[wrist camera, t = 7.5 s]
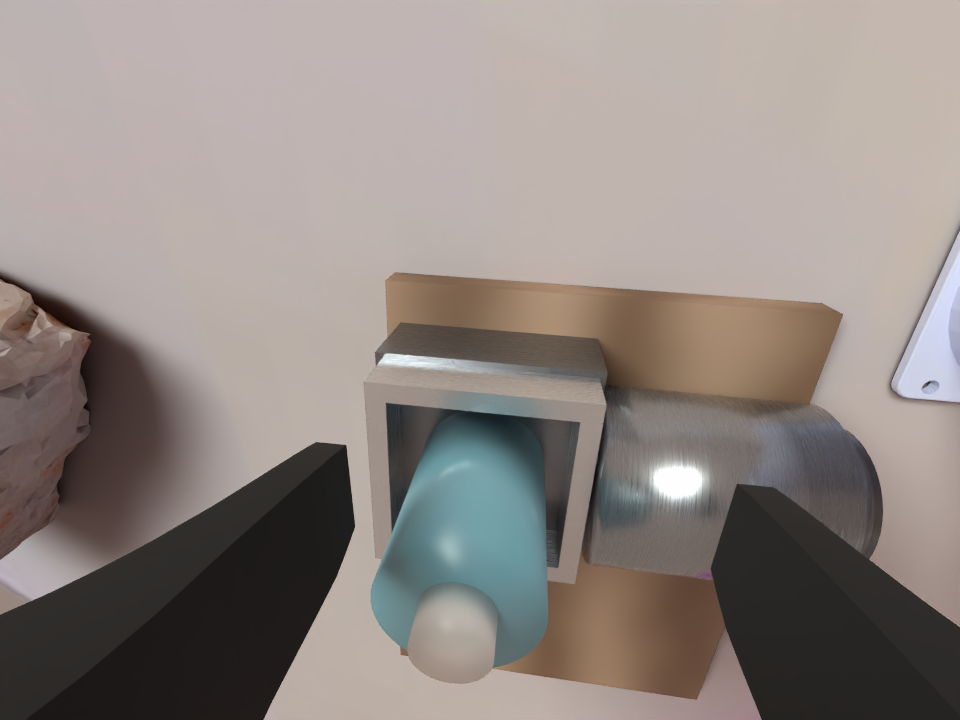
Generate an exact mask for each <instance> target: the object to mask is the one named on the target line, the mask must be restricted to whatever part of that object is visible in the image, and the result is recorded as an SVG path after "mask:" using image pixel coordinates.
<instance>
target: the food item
mask: <svg viewBox="0 0 960 720" xmlns="http://www.w3.org/2000/svg"><path fill="white" fill-rule="evenodd" d="M89 335H90V334H89V333H85V332H81V331H77V330H74V329H72V328H70V327H68V326H67V325H65V324H63V323H61V322H60V321H59V320H58V319H57V318H55V317H54V316H52V315H51V314H50V313H48V312H44V310H43V309H42V308H40V307H38V306H37V305H36V304H34V302H33V299H32V297H31V294H29V293H27V292H26V291H24V290H22V289H20V288H19V287H17V286H15V285H12V284H8V283H5V282H4V281H2V280H1V279H0V560H1V559H2V558H3V557H5V556H6V555H7V554H9V553H10V552H11V551H13V550H14V549H15V548H17V547H18V546H19V545H20V543H21V542H22V541H24V540H25V539H27V538H28V537H30V536H31V535H32V534H34V533H36V532H37V531H39V530H41V529H42V528H44V527H45V526H46V525H48V524H49V523H50V522H51V521H52V520H53V519H54V518H55V516H56V514H57V512H58V510H59V505H58V499H59V494H58V492H57V483H58V481H59V479H60V478H61V476H62V471H63V466H64V461H65V457H66V456H67V455H68V454H69V453H70V452H71V451H72V450H73V449H74V448H75V447H76V446H77V445H78V444H79V443H80V442H81V441H83V440H84V439H85V438H87V435H89V434H90V433H91V428H92V427H91V426H90V425H89V412H88V411H87V410H85V409H84V408H83V406H84V405H85V403H86V402H87V395H86V390H85V384H84V380H83V378H82V376H81V374H80V367H81V361H82V359H83V357H84V355H85V353H86V351H87V349H88V347H89V345H90V343H91V340H90V339H88V338H87V336H89Z"/></svg>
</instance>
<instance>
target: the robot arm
mask: <svg viewBox="0 0 960 720" xmlns="http://www.w3.org/2000/svg"><path fill="white" fill-rule="evenodd" d="M928 381H930V384H929V385H928V386H927V387H925V388H923V389H922V386H923V385H924V384H925V383H926V382H928ZM891 386H892V389H893V390H894V391H895V392H896V393H898V394H899V395H901V396H902V397H906V398H913V399H924V400H935V401H947V402H958V403H960V232H959V234H958V236H957V238H956V240H955V243H954V245H953V247H952V249H951V251H950V254H949V256H948V258H947V260H946V262H945V265H944V267H943V269H942V271H941V274H940V276H939V278H938V280H937V282H936V285H935V287H934V289H933V291H932V293H931V296H930V298H929V300H928V302H927V304H926V307H925V309H924V311H923V313H922V316H921V318H920V320H919V322H918V324H917V327H916V329H915V331H914V333H913V335H912V338H911V340H910V342H909V344H908V346H907V349H906V351H905V353H904V355H903V358H902V360H901V362H900V364H899V366H898V369H897V371H896V373H895V375H894V377H893V380H892V384H891ZM354 528H355V521H354V512H353V503H352V494H351V485H350V475H349V466H348V457H347V448H346V445H339V444H329V443H319V442H316V443H314V444H312V445H310V446H309V447H307V448H305V449H303V450H302V451H300V452H298V453H297V454H295V455H293V456H292V457H290V458H289V459H287V460H285V461H284V462H282V463H281V464H279V465H278V466H276V467H274V468H273V469H271V470H270V471H268V472H267V473H265V474H263V475H262V476H260V477H259V478H257V479H255V480H254V481H252V482H251V483H249V484H247V485H246V486H244V487H243V488H241V489H239V490H238V491H236V492H235V493H233V494H231V495H230V496H228V497H227V498H225V499H223V500H222V501H220V502H218V503H217V504H215V505H214V506H212V507H210V508H208V509H207V510H205V511H203V512H201V513H200V514H198V515H196V516H195V517H193V518H191V519H189V520H188V521H186V522H184V523H182V524H181V525H179V526H177V527H175V528H174V529H172V530H170V531H169V532H167V533H165V534H163V535H162V536H160V537H158V538H156V539H155V540H153V541H151V542H149V543H148V544H146V545H144V546H142V547H140V548H138V549H136V550H135V551H133V552H131V553H129V554H127V555H125V556H123V557H121V558H119V559H117V560H116V561H114V562H112V563H110V564H108V565H106V566H104V567H102V568H100V569H98V570H96V571H94V572H92V573H90V574H88V575H86V576H84V577H82V578H80V579H77V580H75V581H73V582H71V583H69V584H67V585H65V586H63V587H61V588H59V589H57V590H55V591H53V592H51V593H48V594H46V595H44V596H42V597H40V598H37V599H35V600H33V601H31V602H28V603H26V604H24V605H22V606H19V607H17V608H15V609H12V610H10V611H8V612H6V613H3V614H1V615H0V720H263V719H264V717H265V715H266V713H267V711H268V709H269V707H270V705H271V703H272V700H273V699H274V697H275V695H276V693H277V691H278V689H279V687H280V685H281V683H282V681H283V679H284V677H285V675H286V674H287V672H288V670H289V668H290V666H291V664H292V662H293V660H294V658H295V656H296V654H297V652H298V651H299V649H300V647H301V645H302V643H303V641H304V639H305V637H306V635H307V633H308V631H309V629H310V627H311V626H312V624H313V622H314V620H315V618H316V616H317V614H318V612H319V610H320V608H321V606H322V604H323V602H324V600H325V598H326V596H327V594H328V593H329V591H330V589H331V587H332V585H333V583H334V581H335V579H336V577H337V574H338V571H339V569H340V566H341V564H342V561H343V559H344V556H345V553H346V551H347V548H348V545H349V542H350V540H351V537H352V534H353V531H354ZM710 569H711V573H712V577H713V581H714V585H715V589H716V593H717V597H718V601H719V605H720V608H721V612H722V616H723V619H724V623H725V626H726V629H727V632H728V635H729V637H730V640H731V643H732V645H733V648H734V650H735V653H736V655H737V658H738V661H739V663H740V666H741V668H742V671H743V673H744V676H745V679H746V681H747V684H748V686H749V689H750V691H751V694H752V696H753V699H754V701H755V704H756V706H757V709H758V711H759V714H760V716H761V719H762V720H960V627H958V626H957V625H956V624H954V623H953V622H951V621H950V620H949V619H947V618H946V617H944V616H943V615H942V614H940V613H939V612H938V611H936V610H935V609H934V608H932V607H931V606H930V605H928V604H927V603H926V602H924V601H923V600H921V599H920V598H919V597H917V596H916V595H915V594H913V593H912V592H911V591H909V590H908V589H907V588H905V587H904V586H903V585H901V584H900V583H899V582H897V581H896V580H895V579H894V578H892V577H891V576H890V575H888V574H887V573H886V572H884V571H883V570H882V569H880V568H879V567H878V566H877V565H875V564H874V563H873V562H871V561H870V560H869V559H868V558H866V557H865V556H864V555H862V554H861V553H860V552H858V551H857V550H856V549H855V548H853V547H852V546H851V545H849V544H848V543H847V542H846V541H844V540H843V539H842V538H840V537H839V536H838V535H837V534H835V533H834V532H833V531H832V530H830V529H829V528H828V527H826V526H825V525H824V524H823V523H821V522H820V521H819V520H817V519H816V518H815V517H813V516H812V515H811V514H810V513H808V512H807V511H806V510H804V509H803V508H802V507H800V506H799V505H798V504H796V503H795V502H794V501H792V500H791V499H790V498H788V497H787V496H786V495H784V494H783V493H781V492H780V491H778V490H777V489H775V488H774V487H766V486H756V485H746V484H737V485H736V488H735V491H734V495H733V498H732V501H731V504H730V507H729V511H728V514H727V517H726V520H725V523H724V527H723V530H722V533H721V536H720V539H719V543H718V546H717V549H716V552H715V555H714V559H713V562H712V565H711V568H710Z"/></svg>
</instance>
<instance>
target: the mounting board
mask: <svg viewBox="0 0 960 720" xmlns="http://www.w3.org/2000/svg"><path fill="white" fill-rule="evenodd" d="M385 284H386V308H387V333H388V336H389V335H390V334H391V333H392V332H393V331H394V329H395V328H396V327H397V326H398V325H399V323H400V322H404V323H416V324H428V325H440V326H452V327H464V328H476V329H488V330H500V331H512V332H524V333H537V334H549V335H561V336H573V337H585V338H597V339H598V342H599V346H600V349H601V352H602V356H603V359H604V362H605V366H606V369H607V372H608V374H607V380H606V385H612V386H623V387H634V388H645V389H656V390H667V391H678V392H688V393H699V394H710V395H721V396H732V397H743V398H754V399H765V400H776V401H787V402H797V403H808V404H809V403H810V401H811V398H812V395H813V393H814V390H815V387H816V385H817V382H818V379H819V377H820V374H821V372H822V369H823V366H824V364H825V361H826V358H827V356H828V353H829V350H830V348H831V345H832V343H833V340H834V337H835V335H836V332H837V329H838V327H839V324H840V322H841V319H842V316H843V314H841V313H839V312H838V311H836V310H834V309H832V308H830V307H828V306H826V305H824V304H822V303H808V302H795V301H781V300H767V299H753V298H739V297H726V296H712V295H698V294H684V293H670V292H657V291H643V290H629V289H615V288H601V287H588V286H574V285H560V284H546V283H532V282H519V281H505V280H491V279H477V278H463V277H450V276H436V275H422V274H408V273H394V274H393V275H392V276H390V277H389V278H388V279H387V280H385ZM547 586H548V624H547V628H546V631H545V634H544V636H543V638H542V639H541V641H540V642H539V644H538V645H537V646H536V647H535V648H534V649H533V650H532V651H531V652H530V653H528V654H527V655H526V656H524V657H522V658H521V659H519V660H517V661H514V662H512V663H510V664H507V665H503V666H500V667H494V668H492V669H498V670H504V671H511V672H518V673H524V674H531V675H537V676H544V677H551V678H557V679H564V680H570V681H577V682H584V683H590V684H597V685H603V686H610V687H617V688H623V689H630V690H636V691H643V692H650V693H656V694H663V695H669V696H676V697H683V698H689V699H696V700H697V698H698V695H699V693H700V690H701V688H702V685H703V682H704V680H705V677H706V674H707V672H708V669H709V667H710V664H711V661H712V659H713V656H714V653H715V651H716V648H717V645H718V643H719V640H720V638H721V635H722V632H723V630H724V627H725V623H724V619H723V616H722V612H721V608H720V605H719V601H718V597H717V593H716V589H715V585H714V581H713V580H706V579H698V578H690V577H682V576H675V575H667V574H659V573H651V572H643V571H635V570H628V569H620V568H612V567H604V566H596V565H588V564H587V563H586V562H585V560H584V558H583V554H582V550H581V553H580V558H579V564H578V570H577V575H576V581H575V584H569V583H561V582H554V581H547ZM400 648H401V655H405V656H408V653H407V650H405V649H404V648H402V647H401V646H400Z"/></svg>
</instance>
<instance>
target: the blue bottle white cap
mask: <svg viewBox="0 0 960 720" xmlns="http://www.w3.org/2000/svg"><path fill="white" fill-rule="evenodd" d="M371 605H372V609H373V612H374V615H375V617H376V619H377V621H378V623H379V625H380V626H381V627H382V629H383V630H384V631H385V632H386V634H387V635H388V636H389V637H390V638H391V639H392V640H393V641H395V642H396V643H397V644H398V645H399V646H401V647H402V648H404V649H405V650H407V653H408V656H409V658H410V660H411V662H412V663H413V665H414V666H415V667H416V668H417V669H419V670H420V671H421V672H422V673H424V674H426V675H427V676H429V677H431V678H434V679H436V680H439V681H443V682H448V683H469V682H474V681H477V680H479V679H481V678H483V677H485V676H486V675H487V674H488V673H489V672H490V671H491V669H492V668H494V667H500V666H503V665H507V664H510V663H512V662H514V661H517V660H519V659H521V658H522V657H524V656H526V655H527V654H528V653H530V652H531V651H532V650H533V649H534V648H535V647H536V646H537V645H538V644H539V642H540V641H541V639H542V638H543V636H544V634H545V631H546V628H547V624H548V586H547V544H546V501H545V460H544V454H543V451H542V447H541V445H540V443H539V441H538V440H537V438H536V437H535V435H534V434H533V433H532V432H531V431H530V429H529V428H527V427H526V426H525V425H524V424H523V423H521V422H520V421H518V420H517V419H515V418H513V417H511V416H509V415H503V414H493V413H483V412H473V411H463V412H460V413H457V414H454V415H452V416H450V417H448V418H446V419H445V420H443V421H442V422H440V423H439V424H438V425H437V426H436V427H435V428H434V430H433V431H432V432H431V434H430V436H429V437H428V440H427V442H426V445H425V447H424V450H423V453H422V455H421V458H420V461H419V463H418V466H417V468H416V471H415V474H414V476H413V479H412V482H411V484H410V487H409V490H408V492H407V495H406V497H405V500H404V503H403V505H402V508H401V511H400V513H399V516H398V518H397V521H396V524H395V526H394V529H393V532H392V534H391V537H390V539H389V542H388V545H387V547H386V550H385V553H384V555H383V558H382V560H381V563H380V566H379V568H378V571H377V574H376V576H375V579H374V581H373V584H372V588H371Z"/></svg>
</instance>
